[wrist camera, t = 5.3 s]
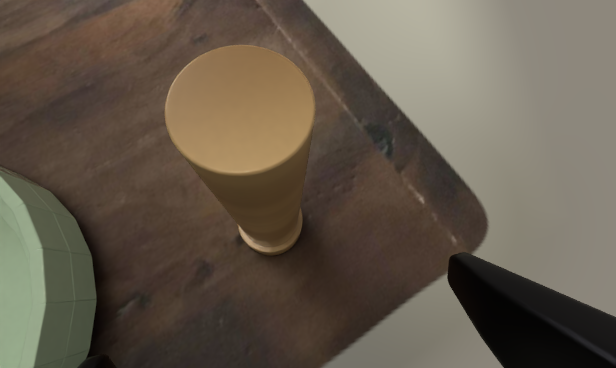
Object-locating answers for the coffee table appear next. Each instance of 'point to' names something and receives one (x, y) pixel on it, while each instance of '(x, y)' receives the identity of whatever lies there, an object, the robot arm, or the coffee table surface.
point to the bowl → (42, 279)
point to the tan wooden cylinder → (247, 137)
